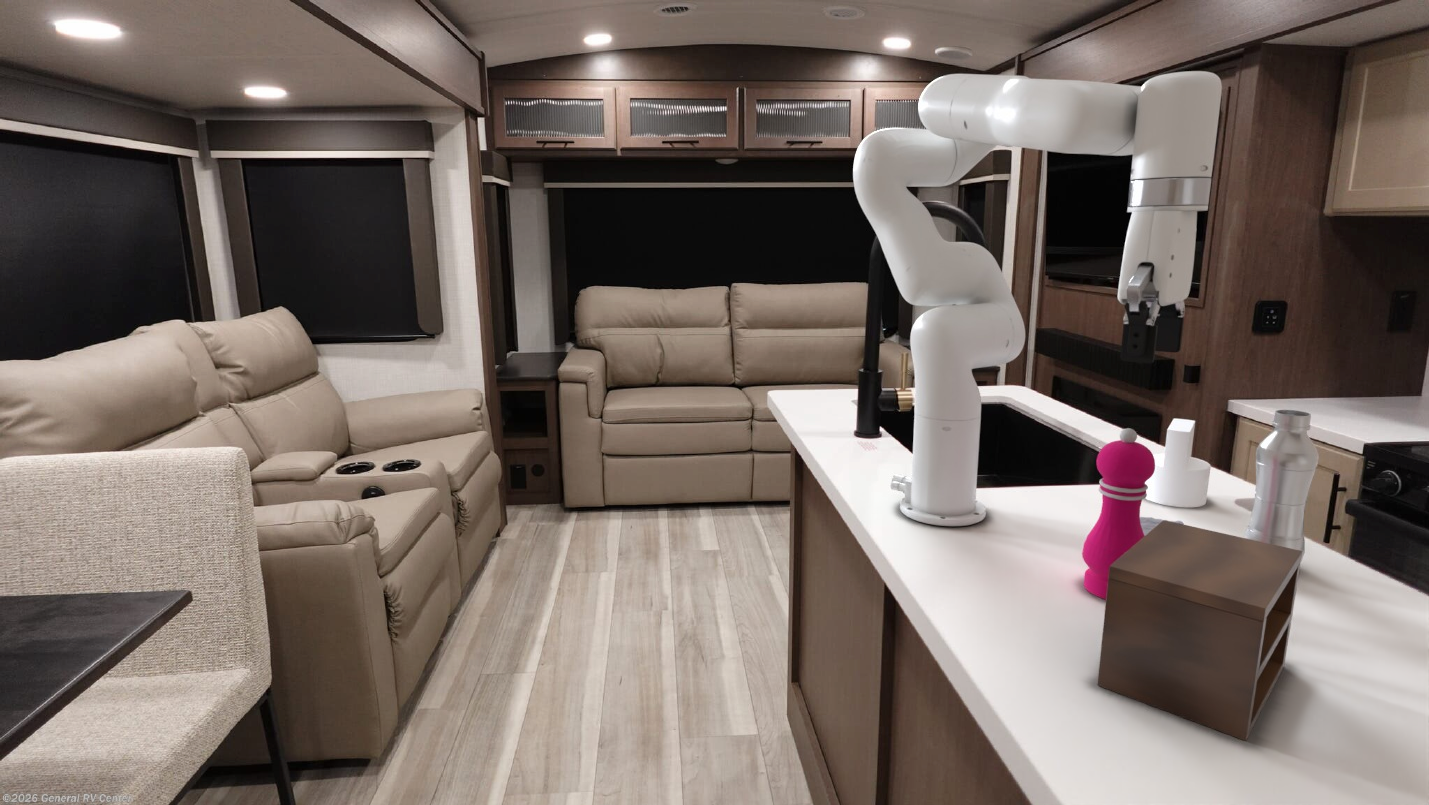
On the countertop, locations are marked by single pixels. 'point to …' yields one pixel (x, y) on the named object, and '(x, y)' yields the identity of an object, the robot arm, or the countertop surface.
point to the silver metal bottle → (1283, 481)
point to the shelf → (1199, 624)
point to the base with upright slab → (1179, 470)
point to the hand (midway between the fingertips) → (1150, 356)
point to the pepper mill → (1117, 507)
